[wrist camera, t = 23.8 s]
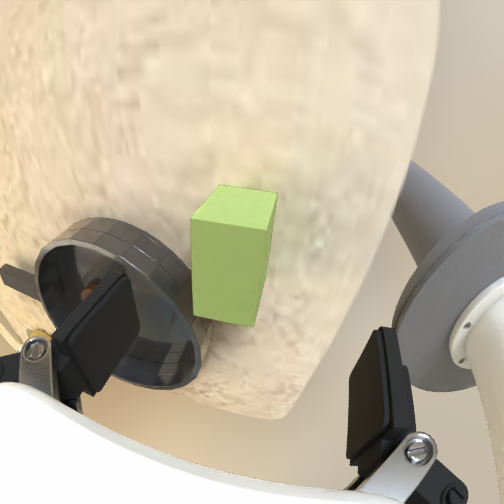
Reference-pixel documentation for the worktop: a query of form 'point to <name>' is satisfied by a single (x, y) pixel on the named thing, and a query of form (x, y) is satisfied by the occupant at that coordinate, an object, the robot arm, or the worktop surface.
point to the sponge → (231, 253)
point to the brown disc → (87, 290)
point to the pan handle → (19, 280)
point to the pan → (145, 295)
